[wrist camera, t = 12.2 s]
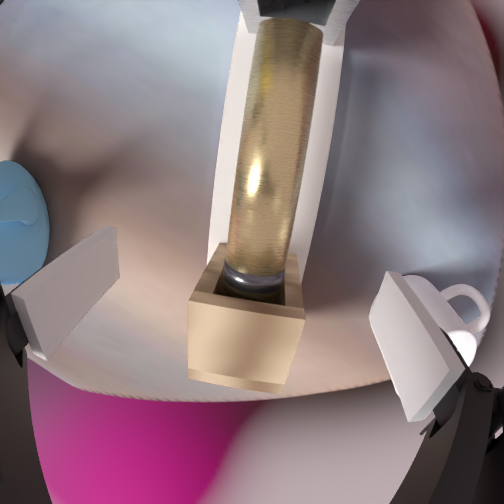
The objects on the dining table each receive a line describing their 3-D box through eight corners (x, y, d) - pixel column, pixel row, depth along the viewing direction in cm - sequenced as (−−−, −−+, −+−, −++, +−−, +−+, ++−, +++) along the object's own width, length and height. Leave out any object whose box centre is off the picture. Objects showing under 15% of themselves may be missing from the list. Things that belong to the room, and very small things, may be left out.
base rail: (205, 304, 29) (203, 309, 28) (258, -59, 13) (257, -63, 12) (290, 318, 28) (290, 323, 28) (347, -45, 13) (349, -49, 12)
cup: (356, 297, 27) (384, 367, 18) (449, 241, 24) (507, 287, 14) (380, 346, 29) (404, 411, 20) (461, 297, 26) (504, 348, 17)
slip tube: (259, 37, 15) (254, 14, 11) (319, 46, 14) (329, 25, 11) (223, 298, 22) (213, 329, 19) (274, 306, 22) (272, 339, 18)
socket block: (215, 304, 29) (188, 378, 19) (221, 239, 26) (188, 300, 16) (281, 315, 28) (281, 394, 19) (296, 251, 26) (305, 319, 16)
